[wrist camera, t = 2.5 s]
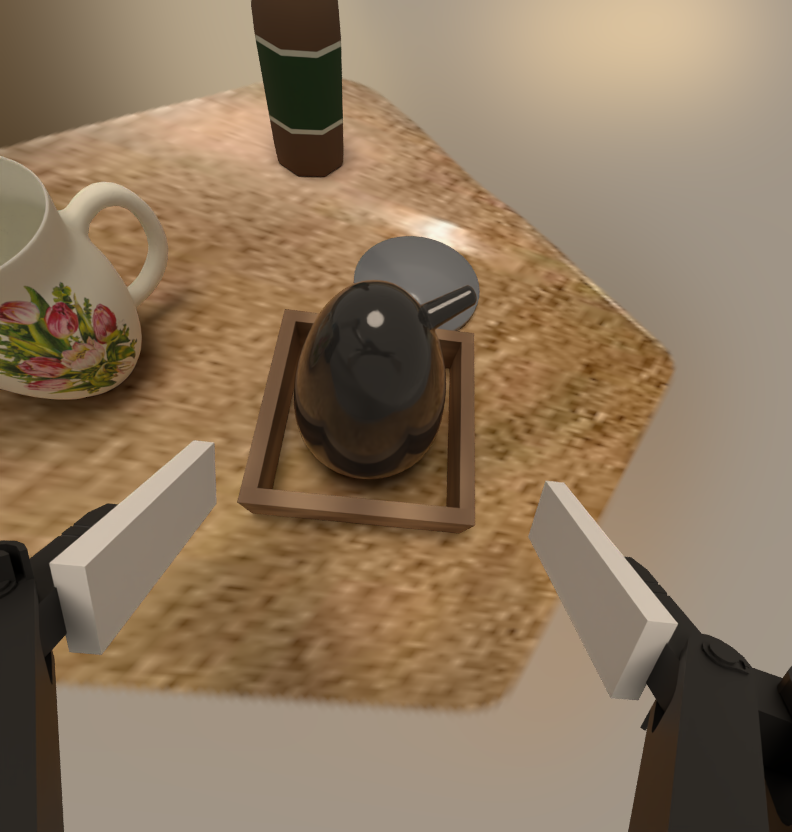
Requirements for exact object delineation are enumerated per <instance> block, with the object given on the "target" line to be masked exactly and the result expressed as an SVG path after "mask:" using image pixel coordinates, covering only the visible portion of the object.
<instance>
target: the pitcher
mask: <svg viewBox="0 0 792 832" xmlns="http://www.w3.org/2000/svg"><path fill="white" fill-rule="evenodd" d="M110 206H120V207H123V208H126V209H128V210H129V211H131V212H132V213H133V214H134V215H135V216H136V217H137V219H138V220H139V222H140V223H141V225H142V227H143V228H144V231H145V233H146V236H147V240H148V245H149V246H148V255H147V258H146V261H145V264H144V266H143V268H142V270H141V272H140V274H139V275H138V277H137V278H136V279H135V280H134V282H133V283H132V284H131V285H129V286H128V287H126V285H125V283H124V282H123V280H122V278H121V277H120V275H119V274H118V272H117V271H116V270H115V268H114V267H113V265H112V264H111V263H110V261H109V260H108V259H107V258H106V256H105V255H104V254H103V253H102V252H101V251H100V250H99V249H98V248H97V247H96V246H95V245H94V244H93V243H92V242H91V241H90V239H89V236H88V232H89V225H90V223H91V221H92V219H93V218H94V217H95V216H96V214H97V213H98V212H100V211H101V210H102V209H104V208H107V207H110ZM167 260H168V244H167V238H166V235H165V233H164V230H163V227H162V225H161V223H160V222H159V220H158V218H157V216H156V215H155V213H154V212H153V211H152V209H151V208H150V207H149V205H148V204H146V203H145V202H144V201H143V200H142V199H141V198H140V197H139V196H138V195H137V194H135V193H134V192H132V191H130V190H129V189H127V188H125V187H124V186H121V185H118V184H115V183H110V182H99V183H93V184H91V185H89V186H87V187H85V188H84V189H82V190H81V191H80V192H78V193H77V194H76V195H75V197H74V198H73V199H72V200H71V202H70V203H69V204H68V206H67V207H66V208H64V209H63V210H58V211H57V209H56V207H55V205H54V203H53V201H52V199H51V197H50V195H49V193H48V191H47V190H46V188H45V186H44V185H43V184H42V182H41V181H40V179H39V178H38V177H37V176H36V175H35V174H34V173H33V172H32V171H31V170H29V169H28V168H26V167H25V166H23V165H22V164H20V163H18V162H16V161H14V160H11V159H8V158H5V157H2V156H0V389H3V390H6V391H10V392H14V393H18V394H22V395H27V396H32V397H39V398H47V399H80V398H85V397H89V396H95V395H99V394H102V393H105V392H107V391H109V390H111V389H113V388H115V387H117V386H118V385H120V384H121V383H122V382H123V381H124V380H125V379H126V378H127V377H128V376H129V375H130V374H131V373H132V371H133V369H134V368H135V365H136V363H137V360H138V357H139V355H140V351H141V342H142V335H141V326H140V321H139V317H138V313H137V310H136V308H137V307H138V306H139V305H140V304H141V303H142V302H143V301H144V300H145V299H146V298H147V297H148V296H149V295H150V294H151V293H152V292H153V291H154V290H155V288H156V287H157V285H158V284H159V282H160V281H161V278H162V276H163V274H164V271H165V268H166V265H167Z"/></svg>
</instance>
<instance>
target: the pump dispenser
mask: <svg viewBox="0 0 792 832" xmlns="http://www.w3.org/2000/svg"><path fill="white" fill-rule="evenodd" d="M476 301H477V296H476V293H475V291H474V289H473V288H472V287H471V286H469V285H466V286H463V287H461V288H459V289H456V290H454V291H452V292H450V293H447V294H445V295H443V296H440V297H438V298H436V299H433V300H431V301H429V302H426V303H424V304H420V303H419V302H418V301H417V300H416V299H415V298H414V297H413V296H412V295H411V294H410V293H409V292H407V291H406V290H405V289H403V288H402V287H400V286H399V285H397V284H394V283H392V282H388V281H383V280H366V281H361V282H358V283H355V284H352V285H350V286H348V287H346V288H345V289H343V290H342V291H340V292H339V293H338V294H337V295H335V296H334V297H333V298H332V299H331V300H330V301H329V302H328V303H327V304H326V305H325V307H324V308H323V309H322V310H321V312H320V313H319V315H318V316H317V318H316V320H315V321H314V323H313V325H312V327H311V329H310V331H309V333H308V335H307V338H306V340H305V343H304V345H303V348H302V351H301V354H300V357H299V361H298V365H297V369H296V375H295V383H294V409H295V417H296V422H297V425H298V429H299V432H300V434H301V437H302V439H303V441H304V443H305V444H306V446H307V447H308V449H309V450H310V451H311V453H312V454H313V455H314V456H315V457H316V458H317V459H318V460H319V461H320V462H321V463H323V464H324V465H325V466H327V467H328V468H330V469H332V470H334V471H336V472H338V473H340V474H343V475H346V476H349V477H353V478H359V479H379V478H385V477H389V476H393V475H395V474H398V473H400V472H402V471H404V470H406V469H408V468H410V467H411V466H413V465H414V464H415V463H416V462H418V461H419V460H420V459H421V458H422V457H423V456H424V455H425V453H426V452H427V451H428V449H429V448H430V446H431V445H432V443H433V441H434V439H435V437H436V435H437V433H438V430H439V427H440V424H441V420H442V415H443V410H444V404H445V395H446V372H445V363H444V357H443V352H442V348H441V345H440V342H439V339H438V336H437V334H436V331H435V330H436V329H437V328H438V327H440V326H441V325H443V324H445V323H446V322H448V321H449V320H451V319H453V318H454V317H456V316H457V315H459V314H461V313H462V312H464V311H466V310H467V309H469V308H470V307H472V306H474V305H475V304H476Z"/></svg>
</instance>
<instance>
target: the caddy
mask: <svg viewBox="0 0 792 832" xmlns="http://www.w3.org/2000/svg"><path fill="white" fill-rule="evenodd" d="M318 315H319V313H312V312H304V311H297V310H289V309H285V311H284V315H283V319H282V323H281V327H280V331H279V335H278V339H277V343H276V347H275V351H274V355H273V359H272V363H271V367H270V371H269V376H268V380H267V384H266V388H265V392H264V396H263V400H262V404H261V408H260V412H259V416H258V420H257V424H256V428H255V432H254V436H253V440H252V444H251V448H250V452H249V457H248V461H247V465H246V469H245V473H244V477H243V481H242V485H241V489H240V493H239V497H238V501H237V502H238V503H239V504H240V505H242V506H243V507H245V508H246V509H247V510H249V511H250V512H252V513H255V514H266V515H276V516H286V517H297V518H307V519H317V520H328V521H338V522H349V523H359V524H369V525H380V526H390V527H401V528H411V529H421V530H432V531H442V532H453V533H461V532H463V531H465V530H467V529H469V528H471V527H473V526H475V425H474V333H468V332H460V331H452V330H444V329H436V330H435V331H436V334H437V336H438V339H439V342H440V345H441V348H442V352H443V357H444V363H445V368H450V390H449V430H448V471H447V507H443V506H433V505H423V504H413V503H403V502H393V501H383V500H373V499H363V498H353V497H343V496H333V495H323V494H313V493H303V492H293V491H283V490H273V489H272V488H273V483H274V479H275V474H276V469H277V465H278V460H279V455H280V450H281V446H282V441H283V436H284V432H285V427H286V422H287V418H288V413H289V408H290V403H291V399H292V394H293V389H294V383H295V375H296V369H297V365H298V361H299V357H300V354H301V351H302V348H303V345H304V343H305V340H306V338H307V335H308V333H309V331H310V329H311V327H312V325H313V323H314V321H315V320H316V318H317V316H318Z"/></svg>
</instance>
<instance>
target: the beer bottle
mask: <svg viewBox="0 0 792 832" xmlns="http://www.w3.org/2000/svg"><path fill="white" fill-rule="evenodd" d="M251 7H252V15H253V24H254V32H255V38H256V44H257V49H258V55H259V61H260V66H261V72H262V77H263V83H264V89H265V94H266V100H267V106H268V111H269V117H270V122H271V128H272V133H273V139H274V144H275V149H276V153H277V157H278V161H279V162H280V164H282V165H283V166H285V167H286V168H288V169H289V170H291V171H292V172H294V173H295V174H296V175H298V176H316V177H325V176H326V175H328V174H329V173H331V172H332V171H334V170H335V169H337V168H338V167H340V166H341V165H342V163H343V108H342V64H341V34H340V21H339V9H338V0H252V1H251Z"/></svg>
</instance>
